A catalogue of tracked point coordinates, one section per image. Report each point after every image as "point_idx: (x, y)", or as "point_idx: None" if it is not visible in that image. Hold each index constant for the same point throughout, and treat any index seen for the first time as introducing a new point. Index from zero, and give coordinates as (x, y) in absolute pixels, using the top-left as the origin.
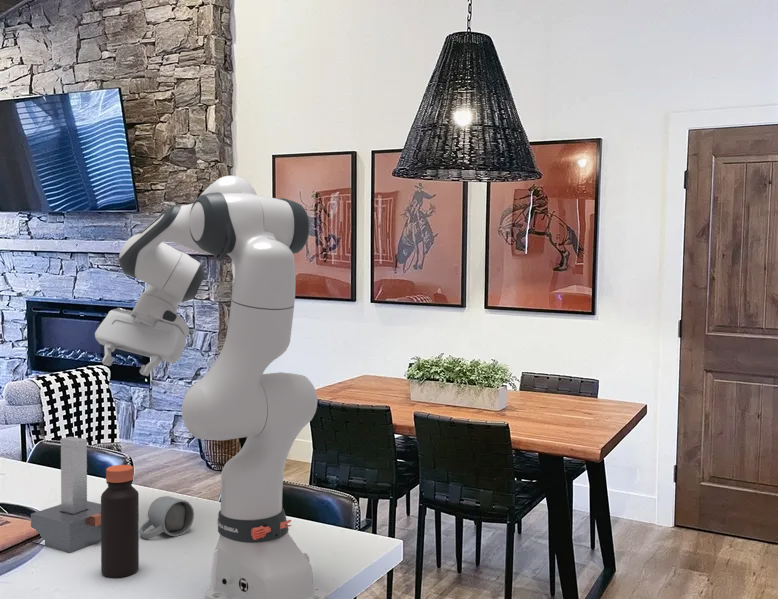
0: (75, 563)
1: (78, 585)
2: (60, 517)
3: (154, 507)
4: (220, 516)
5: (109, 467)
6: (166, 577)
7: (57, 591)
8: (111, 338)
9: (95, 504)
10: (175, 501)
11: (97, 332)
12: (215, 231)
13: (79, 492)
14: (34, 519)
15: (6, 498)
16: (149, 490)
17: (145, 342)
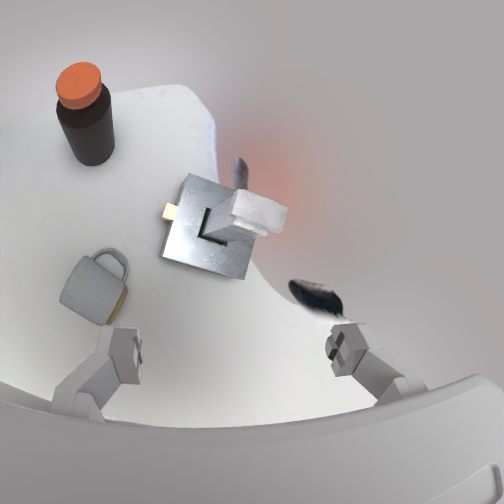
0: (157, 156)
1: (123, 105)
2: (217, 195)
3: (110, 280)
4: None
5: (97, 78)
6: (39, 145)
7: (137, 90)
8: (429, 406)
9: (203, 262)
10: (71, 277)
11: (496, 390)
12: None
13: (212, 218)
14: None
15: None
16: None
17: (169, 486)
